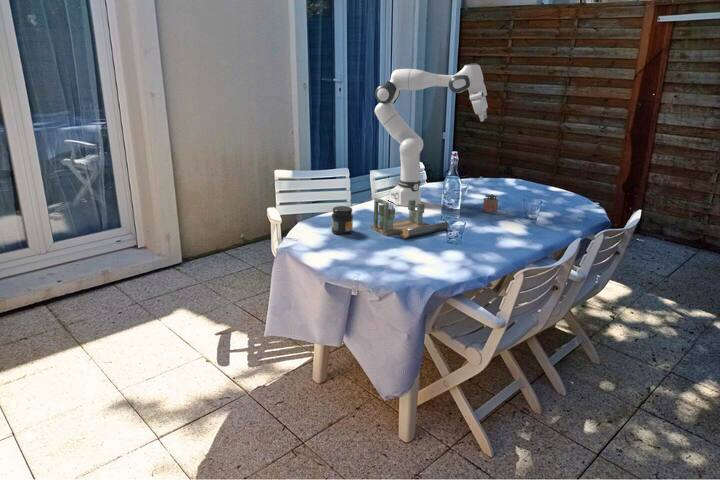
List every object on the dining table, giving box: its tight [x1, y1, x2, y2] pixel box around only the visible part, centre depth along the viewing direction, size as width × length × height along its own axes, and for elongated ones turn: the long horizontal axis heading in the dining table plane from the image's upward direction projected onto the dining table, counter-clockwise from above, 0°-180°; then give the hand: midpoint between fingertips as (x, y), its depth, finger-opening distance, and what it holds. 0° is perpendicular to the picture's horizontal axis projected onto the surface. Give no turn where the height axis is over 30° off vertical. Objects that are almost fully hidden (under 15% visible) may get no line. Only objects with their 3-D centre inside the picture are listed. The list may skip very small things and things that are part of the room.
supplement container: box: [331, 205, 354, 236], centre depth 270 cm, size 10×10×12 cm
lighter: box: [482, 193, 499, 214], centre depth 311 cm, size 8×3×10 cm, turn 84°
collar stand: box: [370, 197, 431, 237], centre depth 277 cm, size 13×28×16 cm, turn 125°
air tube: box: [399, 221, 450, 239], centre depth 272 cm, size 28×4×4 cm, turn 125°
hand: (483, 119), depth 296 cm, fingers open, 8 cm apart
